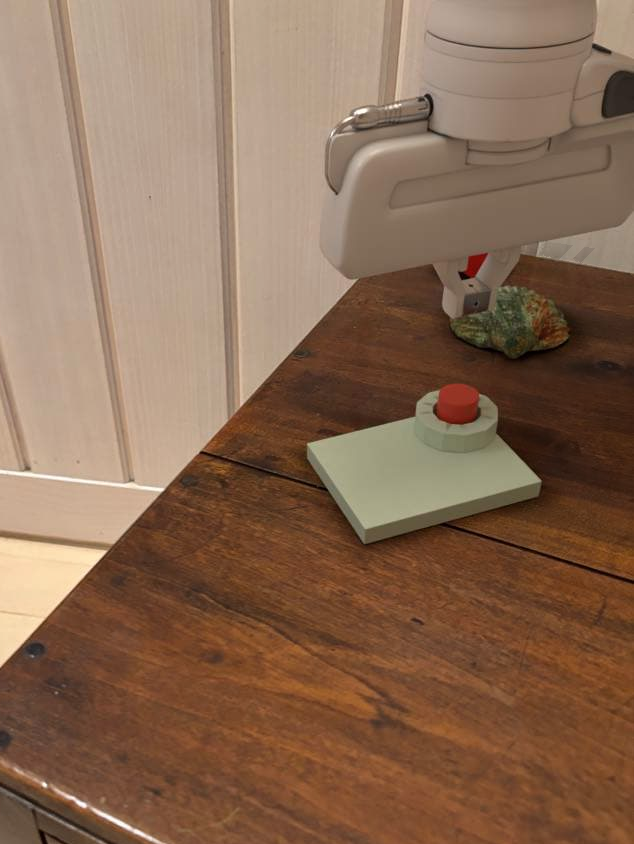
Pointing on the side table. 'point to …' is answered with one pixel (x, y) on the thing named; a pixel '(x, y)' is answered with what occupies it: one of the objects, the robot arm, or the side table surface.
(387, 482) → the scale
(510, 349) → the seashell
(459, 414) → the button
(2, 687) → the side table surface
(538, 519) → the side table surface
